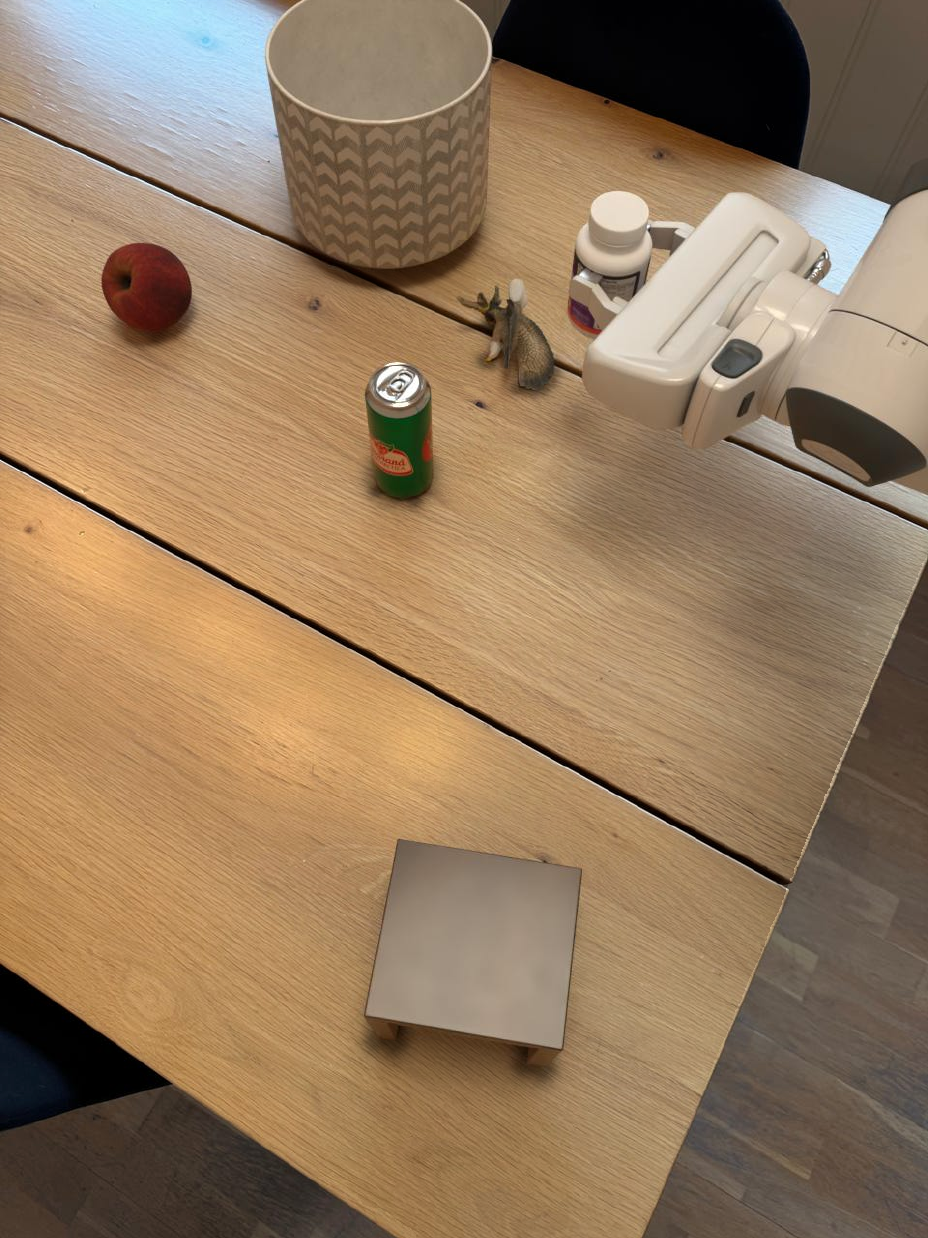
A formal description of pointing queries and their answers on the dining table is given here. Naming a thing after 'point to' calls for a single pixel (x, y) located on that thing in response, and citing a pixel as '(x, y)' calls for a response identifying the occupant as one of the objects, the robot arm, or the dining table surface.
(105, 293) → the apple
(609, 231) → the pill bottle
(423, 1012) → the small side table
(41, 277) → the dining table surface
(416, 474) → the soda can
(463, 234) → the planter
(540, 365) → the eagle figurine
